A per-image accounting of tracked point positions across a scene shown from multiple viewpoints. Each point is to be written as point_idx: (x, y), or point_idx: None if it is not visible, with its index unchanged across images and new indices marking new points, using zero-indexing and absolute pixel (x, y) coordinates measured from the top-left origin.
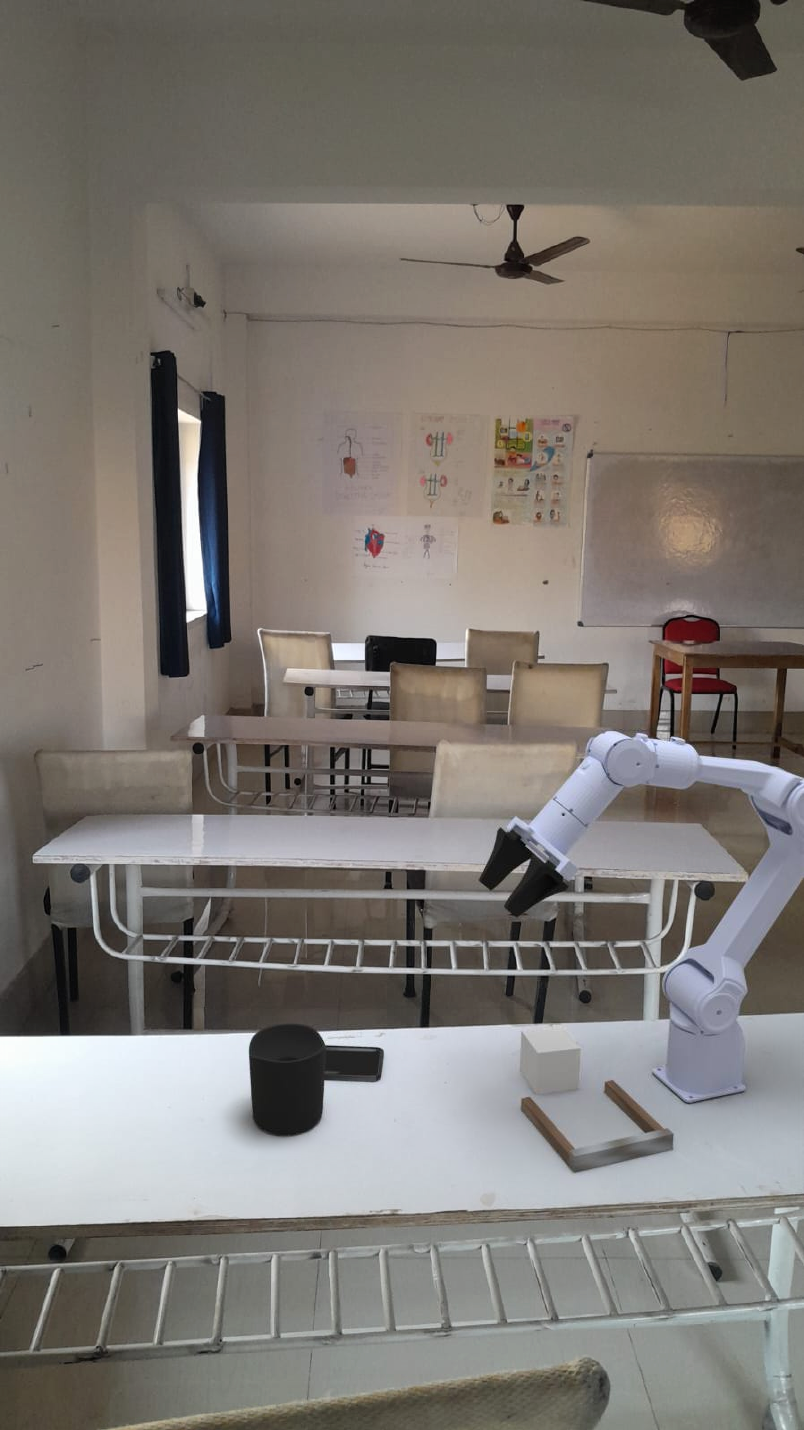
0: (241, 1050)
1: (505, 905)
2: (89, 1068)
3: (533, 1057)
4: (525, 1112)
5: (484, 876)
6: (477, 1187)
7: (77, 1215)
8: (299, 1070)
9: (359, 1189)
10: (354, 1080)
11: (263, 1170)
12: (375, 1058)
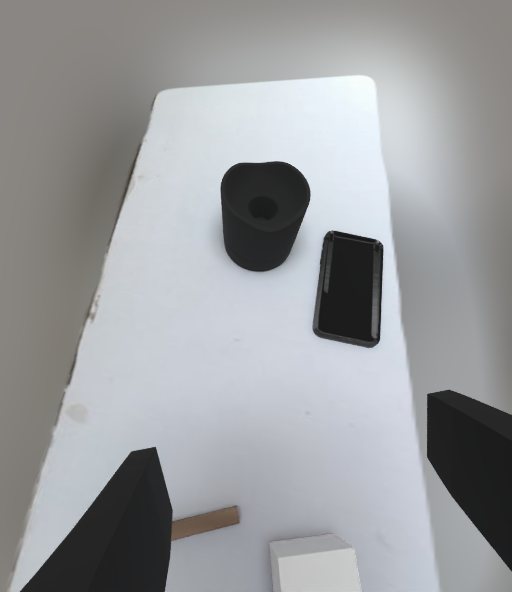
0: (375, 213)
1: (143, 453)
2: (343, 115)
3: (292, 551)
4: (223, 509)
5: (449, 410)
6: (99, 405)
7: (158, 116)
8: (222, 205)
9: (132, 290)
10: (315, 308)
11: (180, 220)
12: (355, 334)
